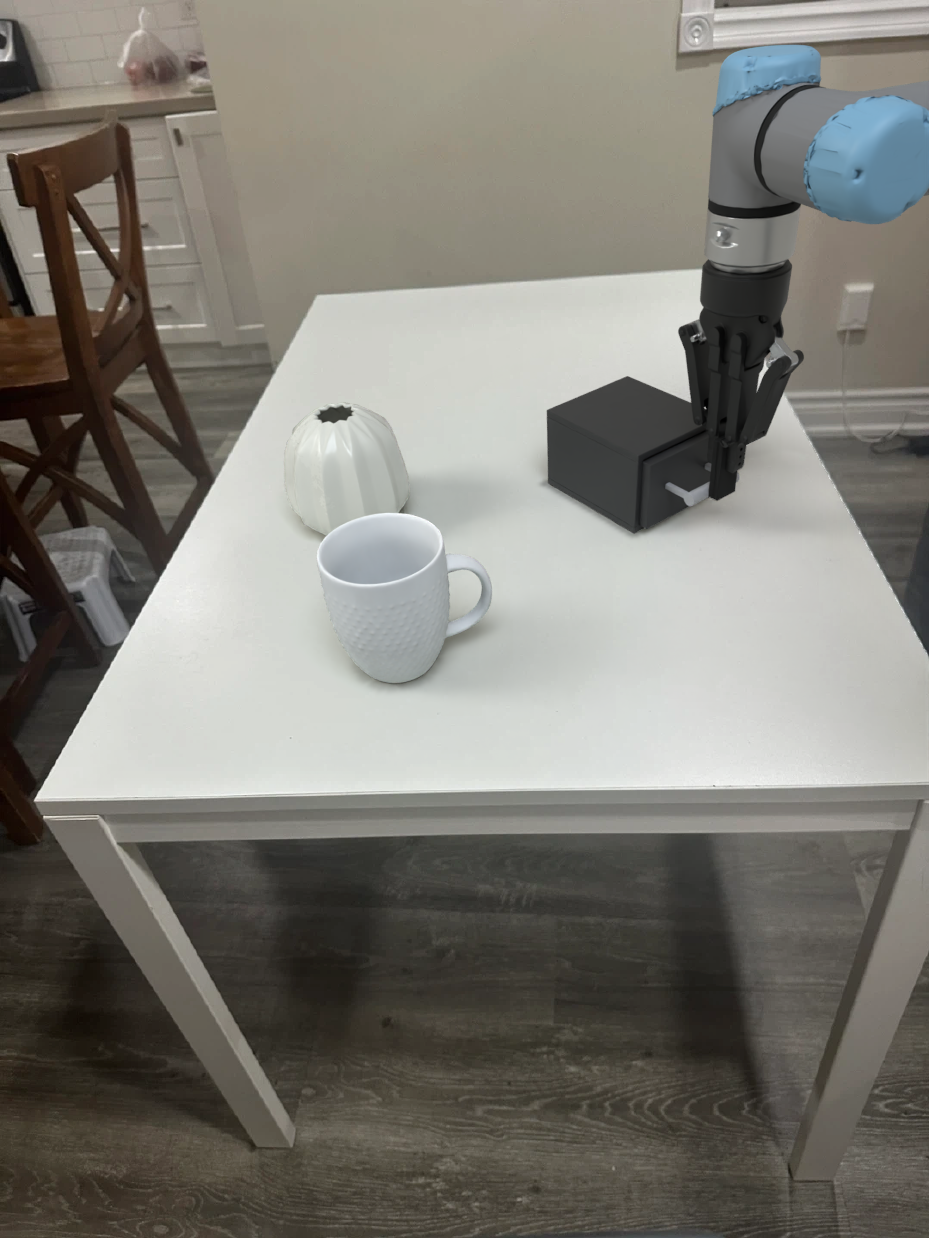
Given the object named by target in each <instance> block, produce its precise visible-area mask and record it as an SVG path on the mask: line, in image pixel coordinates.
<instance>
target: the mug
mask: <svg viewBox="0 0 929 1238" xmlns="http://www.w3.org/2000/svg"><path fill="white" fill-rule="evenodd" d="M316 566H317V569H318V570H317V571H318V574H319V579H320V586H321V588H322V593H323V597H324V601H325V605H326V609H327V612H328V614H329V620H330V622H331V623H332V626H333V630H334V632H335V634H336V636H337V638H338V641H339V642H340V644H341V645H342V648H343V649H344V651H345V652H346V653H347V655H348V657H349V658H350V659H351V660H352V661H353V663H354V664H355V665H356V666H357V667H358V668H359V669H360V670H361V671H363V673H365V674H367V675H368V676H369V677H370V678H373V679H374V680H376V681H380V682H384V683H388V684H401V683H402V684H403V683H406V682H410V681H413V680H415V679H417V678H419V677H421V676H423V675H424V674H425V673H427V672H428V671H429V670H430V669H431V667H432V666H433V665H434V663H435V662H436V660H437V659H438V656H439V655H440V653H441V652H442V649H443V646H444V644H445V639H447V638H450V637H454V636H456V635H459V634H460V633H463V632H465V631H467V630H469V629H471V628H472V627H474V626H476V624H478V623H479V622H480V621H481V620H483V618H484V617H485V616H486V614H487V612H488V610H489V608H490V606H491V603H492V598H493V586H492V580H491V577H490V575H489V573H488V571H487V569H486V568H485V567H484V565H483V564H482V563H481V562H480V561H479V560H477V559H476V558H475V557H472V556H470V555H466V554H461V553H446V547H445V540H444V537H443V534H442V532H441V530H440V528H438V527H437V525H435V524H434V523H432V522H431V521H429V520H428V519H426V518H424V517H421V516H418V515H414V514H411V513H401V512H399V513H379V514H373V515H368V516H364V517H360V518H357V519H354V520H351V521H349V522H347V523H345V524H343V525H341V526H339V527H337V528H336V529H334V530H333V531H331V532H330V533H329V534H328V535H327V536H326V535H325V536H324V538H323V540H322V541H320V544H319V545H318V548H317V550H316ZM457 571H469V572H471V573H473V574H475V575H476V577H477V578H478V579H479V582H480V585H481V592H480V597H479V599H478V601H477V603H476V604H475V606H474V607H473V608H472V609H470V610H469V612H467V613H466V614H464V615H462V616H461V617H459V618H457V619H454V620H450V621H449V619H450V609H451V608H450V607H451V606H450V605H451V603H450V596H451V594H450V593H451V592H450V580H449V574H450V573H453V572H457Z"/></svg>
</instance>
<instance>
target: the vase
mask: <svg viewBox="0 0 929 1238" xmlns="http://www.w3.org/2000/svg"><path fill="white" fill-rule="evenodd" d="M399 445H400V444H399V443H398V440H397V437H396V434H395V431H394V429H393V428H392V425H391V424H390V423H389V420H387V418H385V417H384V416H383V415H380V414H378V413H377V412H375V411H374V410H371V409H369V408H366V407H364V406H362V405H360V404H356V403H350V402H345V401H341V402H338V403H327V404H325V405H323V406H320V407H317V408H315V409H313V410H312V411H310V412H309V413H308V414H307V415H305V416H304V417H303V418H302V419H301V420H300V421H299V422H298V423H297V424H296V425H295V426H294V427H293V428H292V431H291V435H290V437H289V438H288V440H287V442H286V445H285V449H284V453H283V479H284V487H285V493H286V497H287V500H288V503H289V505H290V508H291V510H292V511H293V512H294V513H295V514H297V515H298V516H299V517H300V519H301V521H302V523H303V525H304V526H306V527H308V528H310V529H312V530H314V531H316V532H317V533H320V534H322V535H324V536H325V537H326V536H327V535H328V534H329V533H330V532H331V531H333V530H334V529H336V528H337V527H339V526H341V525H343V524H345V523H347V522H349V521H351V520H354V519H357V518H360V517H364V516H368V515H373V514H379V513H400V511H401V509H402V508H403V507H404V506H405V504H406V502H407V501H408V499H409V498H410V493H411V492H410V488H411V485H410V479H409V473H408V470H407V467H406V463H405V459H404V457H403V454H402V452H401V449H400V446H399Z"/></svg>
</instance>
